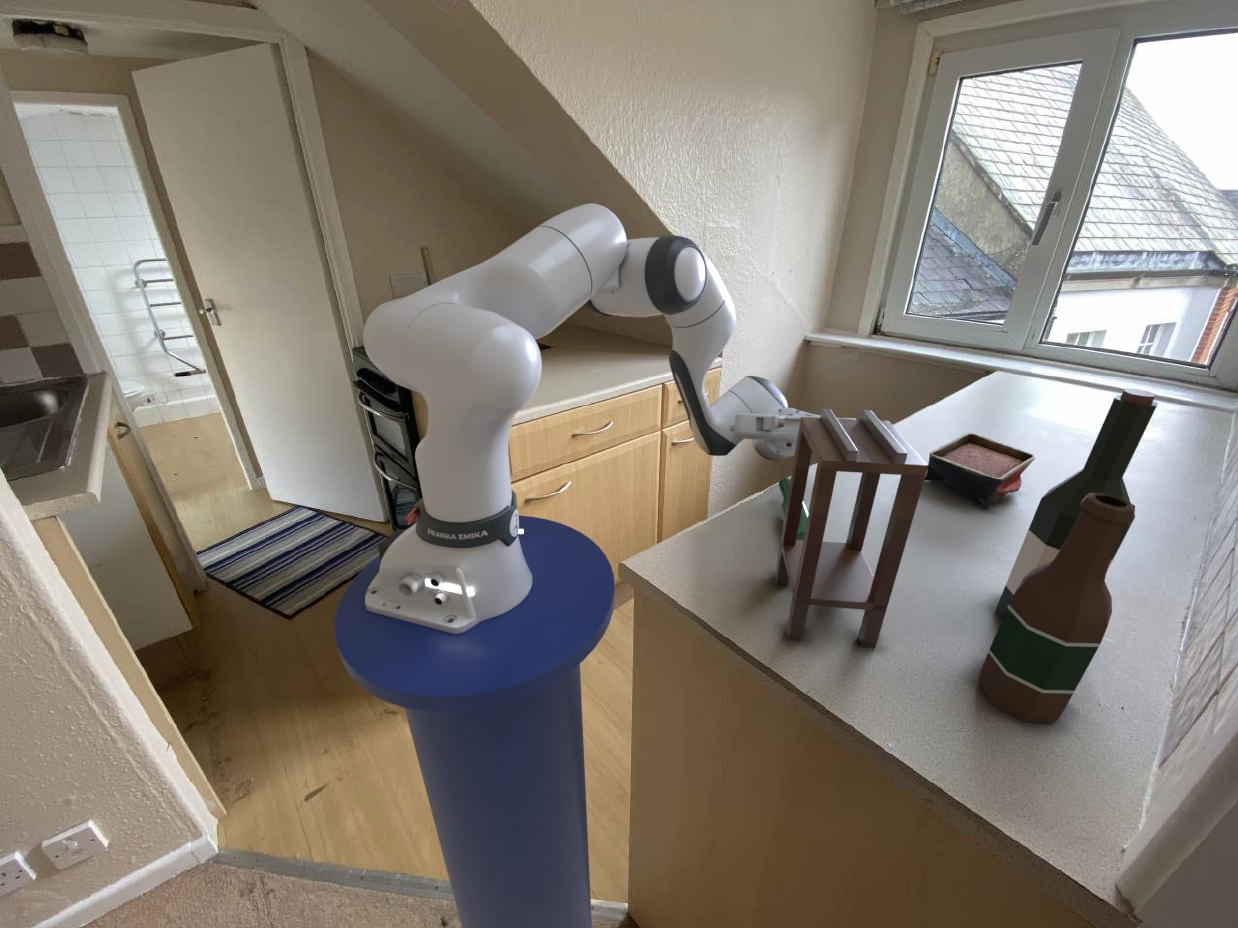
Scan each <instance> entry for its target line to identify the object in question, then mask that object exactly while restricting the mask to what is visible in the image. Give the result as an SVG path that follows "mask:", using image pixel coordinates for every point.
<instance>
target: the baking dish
mask: <svg viewBox="0 0 1238 928" xmlns="http://www.w3.org/2000/svg"><path fill="white" fill-rule="evenodd" d="M1035 459H1036V456H1035V455H1034V454H1033V453H1030V451H1029V452H1028V451H1026V450H1023V449H1021V448H1018V447H1015V446H1012V445H1009V444H1007V443H1004V442H1002V441H998V440H995V439H992V438H990V437H986V436H983V435H981V434H980V435H979V434H976V433H972V432H966V433H964V434H962V435H960V436H959V437H957V438H955V439H953V440H951V441H949V442H947V443H946V444H943V445H941V446H940V447H939V446H938V448H936V449H933V450H932V451H930V452H929V457H928V464H927V465H928V469H927V472H926V476H925V480H924V481H933V482H945V483H947V484H948V485H950V487H953V488H954V489H956V490H957V491H959V492H961V493H962V494H963V495H965V496H967V497H968V498H969V499H971V500H973V501H974V502H975V503H977V504H978V505H979V506H981V507H982V508H984V510H986V511H989V509H990V508H991V507H992V506H993V505H994V504H995V503H996V502H997V501H999V500H1000V499H1002V498H1004V497H1005V496H1006V495H1007V494H1009V493H1016V492H1018V491H1019V490H1020V488H1021V487H1022V485H1023V481H1022V477H1021V476H1022V474H1023V473H1024V472H1025V471H1026V470H1027V468H1028V467H1029V466H1030V465H1031V464H1032V463H1033V461H1035Z"/></svg>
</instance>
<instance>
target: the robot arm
mask: <svg viewBox="0 0 1238 928" xmlns="http://www.w3.org/2000/svg"><path fill="white" fill-rule="evenodd" d="M582 307H584V308H585V309H586V310H588V311H589V312H591V313H593V314H595V315H598V316H603V317H614V316H617V317H624V318H625V317H627V318H628V317H629V318H648V317H657V316H661V315H663V316H664V317H665V319H666V321H667V323H668V324H669V326H670V330H671V336H672V347H671V350H670V352H669V353H670V354H669V356H668V362H669V367H670V371H671V374H672V377H673V380H674V384H675V386H676V388H677V391H678V394H679V397H680V399H681V402H682V405H683V407H684V410H685V413H686V416H687V418H688V422H689V423H688V424H689V428H690V431H691V433H692V437H693V439H694V441H695V443H696V444H697V446H698V447H699V448H700V449H701V450H702V451H703V452H704V453H706V454H707V455H708V456H714V457H723V456H728V455H729V454H730V453H731V452H732V451H733V450H734V449H735V448H736V447H738V444H740V443H741V442H742V441H743V440H752V445H753V449H754V451H755V452H756V453H757V454H758V455H759V456H760V457H762V458H764V459H766V460H769V461H782V460H785V459H787V458H790V457H793V456H795V450H796V444H797V438H798V432H799V426H800V420H801V417H816V418H820V415H821V414H816V413H811V412H807V411H803V410H799V409H797V408H793V407H789V406H788V401H787V399H786V398H785V395H783V394H782V392H781V391H780V389H778V387H777V386H776V385H775V384H774V383H773V382H771V381H770V380H769V379H767V378H764V377H761V376H756V375H745V376H744V377H743V378H742V379H740V380H738V382H737V383H735V384H734V385H733V386H731V387H730V388H729V389H727V391H726V392H725V393H723V394H721V396H720V397H719V398H717V399H716V400H714V401H713V402H712V403H711V404H710V402H709V399H708V396H707V394H706V390H705V380H706V377H707V375H708V373H709V371H710V369H711V367H712V366H713V364H714V363H715V361H716V360H717V358H718V357H719V356H720V355H721V353H722V352H723V351H724V349H725V348H726V347H727V345H728V343H729V342H730V340H731V339H732V336H733V333H734V331H735V328H736V323H737V315H736V308H735V305H734V302H733V299H732V297H731V294H730V293H729V291H728V288H727V286H726V285H725V283H724V281H723V279H722V277H721V275H720V273H719V271H718V270H717V268H716V267H715V265H714V263H713V262H712V261H711V260H710V258H709V256H708V255H707V254H706V253H705V252H704V250H703V249H702V247H700V245H698V244H697V243H695V242H694V241H693V240H692V239H690V238H689V237H685V236H681V235H674V234H666V235H661V236H660V237H640V238H631V239H627V234H626V231H625V228H624V226H623V224H622V221H620V219H619V217H618V216H617V215H616V214H615V213H614V212H613V211H611V210H610V209H609V208H608V207H606V206H604V205H601V204H598V203H584V204H581V205H578V206H575V207H572V208H569V209H567V210H565V211H563V212H561V213H558V214H557V215H555V216H552V217H551V218H549V219H548V220H545V221H544V222H543V223H541V224H540V225H538V226H536V227H535V228H533V229H532V230H531V231H529V232H527V233H526V234H525V235H523V236H522V237H520V238H519V239H517V240H516V241H515V242H513V243H512V244H510V245H508V246H507V247H505V248H504V249H503V250H501V251H500V252H498V253H496V254H495V255H493V256H491V257H490V258H488V259H486V260H484V261H483V262H480V263H478V264H476V265H474V266H472V267H469V268H466V269H464V270H462V271H459V272H457V273H455V274H453V275H452V274H451V275H450V276H447V277H446V278H443V279H441V280H439V281H437V282H435V283H433V284H430V285H429V286H426V287H424V288H422V289H420V290H418V291H416V292H413V293H410V294H408V295H406V296H405V295H404V296H403V297H400V298H396V299H392V300H389V301H386V302H383V303H382V304H380V305H378V306H377V307H376V308H375V309H374V310H373V311H372V312H371V313H370V314H369V316H368V317H367V319H366V322H365V324H364V327H363V335H362V340H363V341H362V342H363V347H364V350H365V353H366V355H367V357H368V359H369V361H370V362H371V363H372V364H373V365H374V366H375V367H376V368H377V369H378V370H379V371H380V372H381V373H382V374H383V375H384V376H386V377H387V379H388V380H390V381H391V382H392V383H394V384H396V385H398V386H400V387H403V388H405V389H407V390H410V391H413V392H416V393H418V394H420V395H422V397H423V398H424V400H425V402H426V405H427V412H428V414H427V415H428V420H427V429H426V434H425V436H424V437H423V438H422V439H421V440H420V441H419V443H418V444H417V446H416V449H415V454H414V459H415V464H416V470H417V475H418V480H419V484H420V490H421V495H422V498H420V499H419V500H418V501H417V502H416V503H414V505H413V509H412V510H411V511H410V512H409V514H407V516H406V520H408V521H407V525H408V526H410V525H411V524H412V523H413V522H414V521H415V520H416V521H415V523H413V524H412V525H411V526H410V527H408V528H407V529H400V528H397V529H395V531H394V532H392V533H391V534H390V535H388V537H386V538H385V539H383V540H382V541H381V542H380V543H378V545H377V550H378V554H379V555H380V558H381V564H380V570H379V573H378V574H377V575H376V577H375V578H374V579H373V581H372V582H371V584H370V586H369V588H368V590H367V592H366V596H365V606H366V610H368V611H370V612H374V613H377V614H381V615H385V616H389V617H392V618H396V619H400V620H404V621H407V622H411V623H415V624H419V625H422V626H426V627H430V628H434V629H437V630H441V631H445V632H448V633H452V634H460V633H463V632H465V631H467V630H469V629H470V628H472V627H473V626H475V625H476V624H478V623H479V622H482V621H484V620H487V619H490V618H493V617H496V616H499V615H501V614H503V613H506V612H507V611H509V610H511V609H513V608H514V607H516V606H517V605H518V604H519V603H521V602H522V601H523V600H524V599H525V597H526V596H527V595H528V593H529V591H530V589H531V587H532V582H533V578H532V574H531V571H530V569H529V568H528V565H527V563H526V561H525V558H524V555H523V552H522V549H521V545H520V541H519V537H518V534H523V529H519V516H520V515H519V510H518V506H517V505H518V504H517V498H516V494H515V491H514V490H513V489H512V480H511V479H512V478H511V468H510V455H509V442H510V433H511V429H512V425H513V421H514V419H515V416H516V415H517V413H518V412H519V411H520V410H521V409H523V408H524V407H525V406H527V405H528V403H529V402H530V401H531V400H532V399H533V397H534V395H535V394H536V392H537V390H538V388H539V385H540V381H541V378H542V370H543V360H542V354H541V350H540V347H539V345H538V342H537V341H536V340H538V339H541V338H544V337H546V336H548V335H549V334H550V333H552V332H553V331H554V330H555V329H556V328H558V327H559V326H560V325H562V324H563V323H564V322H565V321H566V320H567V319H568V318H570V317H571V316H572V315H574V314H575V313H576V312H577V311H578V310H579V309H581V308H582ZM838 418H839V419H855V418H854V417H838Z"/></svg>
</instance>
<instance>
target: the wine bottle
mask: <svg viewBox="0 0 1238 928" xmlns="http://www.w3.org/2000/svg"><path fill="white" fill-rule="evenodd" d="M1156 395H1157V394H1155V393H1153V392H1151V391H1148V390H1142V389H1139V388H1138V389H1137V388H1124V390H1123V391H1122V393H1121V394H1117V395H1116V396H1114V398H1113V401H1112V403H1111V405H1110V407H1109V410H1108V412H1107V414H1106V416H1105V418H1104V421H1103V423H1102V425H1101V428H1100V430H1099V432H1098V434H1097V437H1096V439H1095V441H1094V443H1093V445H1092V447H1091V450H1090V451H1089V455H1088V457H1087V459H1086V462H1085V464H1084V466H1083V468H1082V469H1080V470H1079V471H1077V472H1075V473H1073V475H1071V476H1069V477H1067V478H1065V479H1064V480H1063V481H1061V482H1059V483H1058V484H1057V485H1055V486H1053V487H1052V488H1050V489H1049V490H1048V491H1047V492H1046V493H1045V494H1044V495H1043V496H1042V497H1041V498H1040V499H1039V503H1038V506H1037V508H1036V510H1035V512H1034V516H1033V518H1032V520H1031V522H1030V524H1029V527H1028V529H1027V532H1026V534H1025V537H1024V539H1023V541H1022V544H1021V547H1020V549H1019V551H1018V553H1017V556H1016V559H1015V561H1014V564H1013V566H1012V568H1011V571H1010V573H1009V576H1008V579H1007V581H1006V583H1005V586H1004V588H1003V590H1002V592H1001V595H1000V598H999V600H998V602H997V605H996V607H995V610H994V611H995V614H996V615H997V616H998V617H999V619H1000V620H1002V619H1003V616H1004V614H1005V612H1006V609H1007V607H1008V605H1009V603H1010V601H1011V599H1012V597H1013V596H1014V594H1015V592H1016V590H1017V588H1018V587H1019V585H1020V583H1021V582H1022V580H1023V578H1024V577H1025V576H1026V575H1027V574H1029V573H1030V572H1031V571H1032V570H1033V569H1035V568H1037V567H1039V566H1042V565H1044V564H1047V563H1049V562H1051V561H1052V560H1053V559H1054V557H1055V556H1056V555H1057V553H1058V552H1059V551H1060V549H1061V548H1062V546H1063V544H1064V542H1065V540H1066V539H1067V537H1068V535H1069V533H1070V531H1071V530H1072V528H1073V526H1074V524H1075V522H1076V521H1077V519H1078V517H1079V515H1080V513H1081V512H1082V510H1083V509H1082V508H1081V507H1080V504H1081V502H1082V500H1083V499H1084V498H1085V497H1086V496H1087V495H1088V494H1089V493H1107V494H1111V495H1114V496H1118V497H1121V498H1123V499H1125V500H1127V501H1128V502H1130V503H1131V504H1132V501H1131V499H1130V496H1129V493H1128V490H1127V487H1126V484H1125V481H1124V476H1125V474H1126V472H1127V470H1128V468H1129V465H1130V463H1131V461H1132V459H1133V457H1134V454H1135V453H1136V450H1137V448H1138V446H1139V444H1140V442H1141V440H1142V439H1143V436H1144V434H1145V432H1146V430H1147V427H1148V426H1149V423H1150V422H1151V420H1152V417H1153V415H1154V413H1155V412H1156V409H1157V407H1158V405H1159V402H1157V401H1154V400H1155V398H1156ZM1135 519H1136V514H1135V515H1134V518H1133V521H1132V522H1126V524H1125V526H1124V529H1123V531H1122V534H1121V536H1120V539H1119V541H1118V544H1117V546H1116V548H1115V551H1114V553H1113V556H1112V558H1111V561H1110V563H1109V566H1108V568H1107V572H1108V571H1109V569H1110V567H1111V566H1112V564H1113V561H1114V560H1115V557H1116V555H1117V553H1118V552H1119V550H1120V548H1121V545H1122V544H1123V542H1124V541H1125V538H1126V537H1127V534H1128V532H1129V530H1130V528H1131V526H1132V524H1133V523H1134V520H1135Z"/></svg>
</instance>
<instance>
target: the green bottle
mask: <svg viewBox="0 0 1238 928" xmlns="http://www.w3.org/2000/svg"><path fill="white" fill-rule="evenodd" d="M790 481H791V478H788V477H784V478H782V479H780V480H779V481H778V484H777V485H778V488H779V491H780V494H781V498H782V502H781V505H780V507H779V508H780V509H779V510H780V514H781V518H782V522H784V517H785V511H786V505H787V499H788V493H789V487H790ZM809 507H810V506H809V505H808V503H807V501H806V500H805V499H803V505H802V511H801V516H800V522H799V527H798V533H797V538H796V540H803V539H804V533H805V528H806V523H807V517H808V512H809Z"/></svg>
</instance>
